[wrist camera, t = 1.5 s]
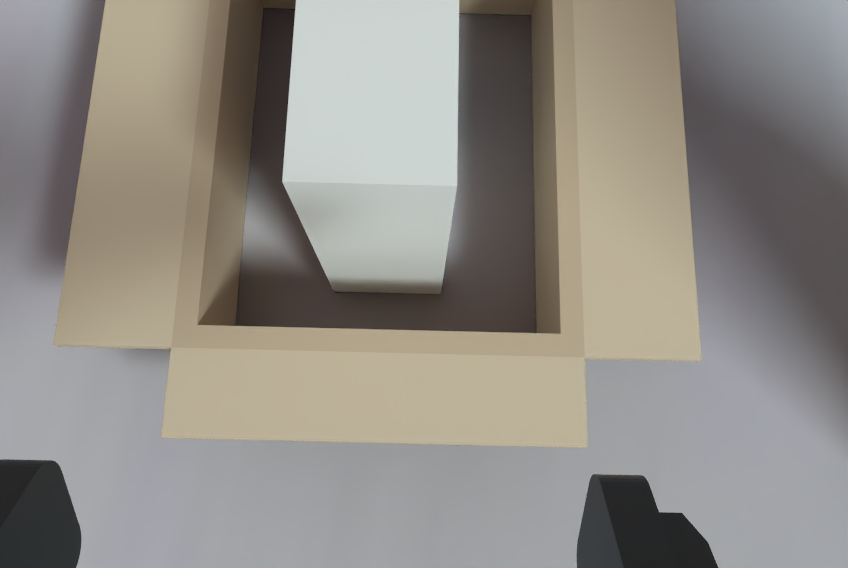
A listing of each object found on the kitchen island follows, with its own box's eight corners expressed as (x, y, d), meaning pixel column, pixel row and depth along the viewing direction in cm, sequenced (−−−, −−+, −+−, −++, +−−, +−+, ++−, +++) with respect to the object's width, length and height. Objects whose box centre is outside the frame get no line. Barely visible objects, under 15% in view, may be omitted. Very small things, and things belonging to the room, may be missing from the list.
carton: (629, -52, 34) (665, -137, 29) (658, 452, 28) (708, 450, 24) (169, -64, 34) (128, -152, 29) (103, 439, 28) (39, 434, 23)
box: (444, 60, 33) (461, -163, 21) (440, 293, 30) (457, 186, 18) (346, 58, 33) (308, -167, 21) (333, 291, 30) (282, 181, 18)
